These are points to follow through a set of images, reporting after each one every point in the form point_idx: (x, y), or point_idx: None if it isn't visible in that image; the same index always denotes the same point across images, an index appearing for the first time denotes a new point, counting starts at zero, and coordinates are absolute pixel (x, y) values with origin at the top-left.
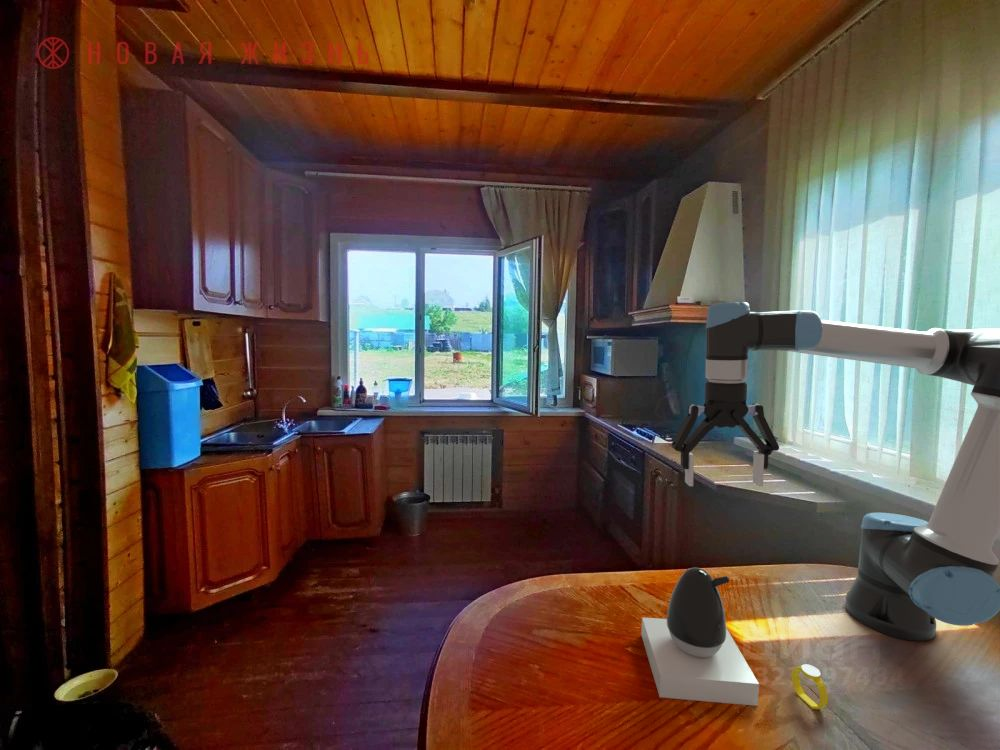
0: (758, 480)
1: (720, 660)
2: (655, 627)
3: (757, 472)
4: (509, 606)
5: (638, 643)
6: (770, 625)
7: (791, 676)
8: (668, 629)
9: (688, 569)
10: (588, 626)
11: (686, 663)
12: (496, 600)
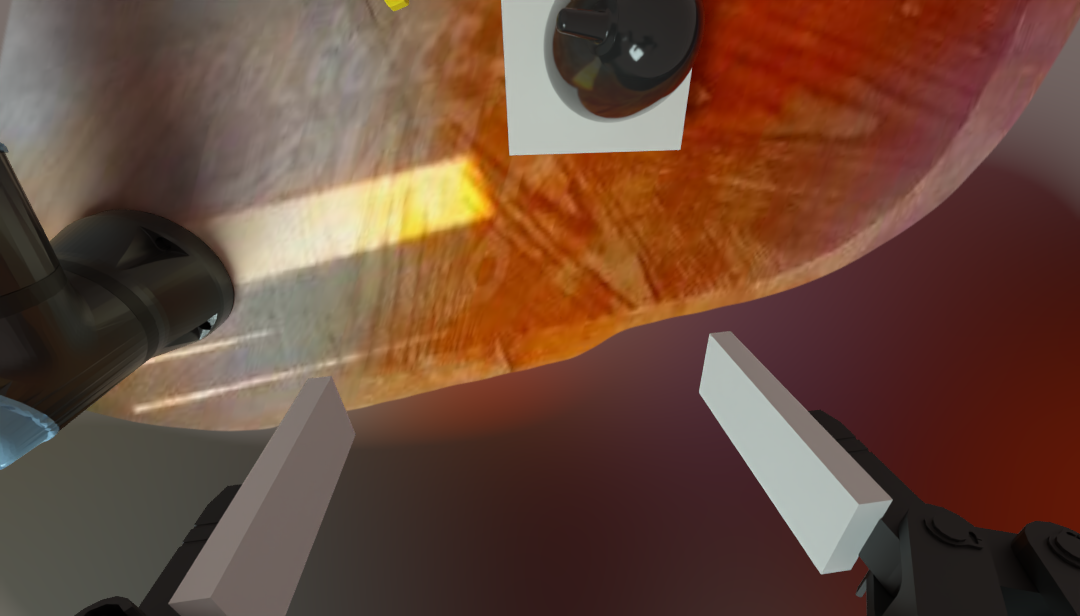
0: (322, 408)
1: None
2: (663, 114)
3: (309, 457)
4: (894, 200)
5: None
6: (398, 218)
7: (407, 3)
8: None
9: (686, 50)
10: (760, 158)
11: None
12: (913, 215)
